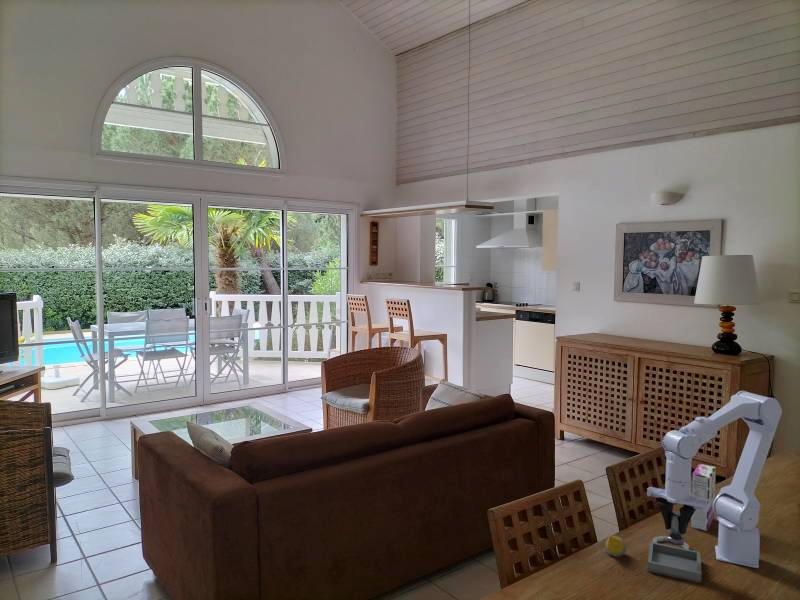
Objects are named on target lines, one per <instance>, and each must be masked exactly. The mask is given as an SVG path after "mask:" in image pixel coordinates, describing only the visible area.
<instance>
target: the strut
mask: <svg viewBox="0 0 800 600" xmlns="http://www.w3.org/2000/svg"><path fill="white" fill-rule="evenodd" d="M680 524H681V518H680V512H677V511H672V512H671V513H670V529H669V530H668V532H669V533H668V534H667V535H666V536H667V541H666V542H667V543H668V544H671V545H673V546H677V547H678V546H679V547H680V546H681V545H684V542H685V537H683V535H682V534H680ZM681 547H682V546H681Z"/></svg>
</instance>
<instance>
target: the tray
mask: <svg viewBox="0 0 800 600" xmlns="http://www.w3.org/2000/svg"><path fill="white" fill-rule="evenodd" d="M647 558H648V559H647V572H648V573H653V574H655V575H656V574H657V575H660V576H666V577H669V578H674V579H677V580H678V579H679V580H683V581H688V582H691V583H696V584H700V585H701V584H702V562H701V552H700V551H698V550H691V549H689V550H688V549H685V548H684V547H680V546H679V547H678V546H675V545H673V546H672V545H668V544H663V543H660V542H657V543H654V542H653V541H649V549H648V557H647Z"/></svg>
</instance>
